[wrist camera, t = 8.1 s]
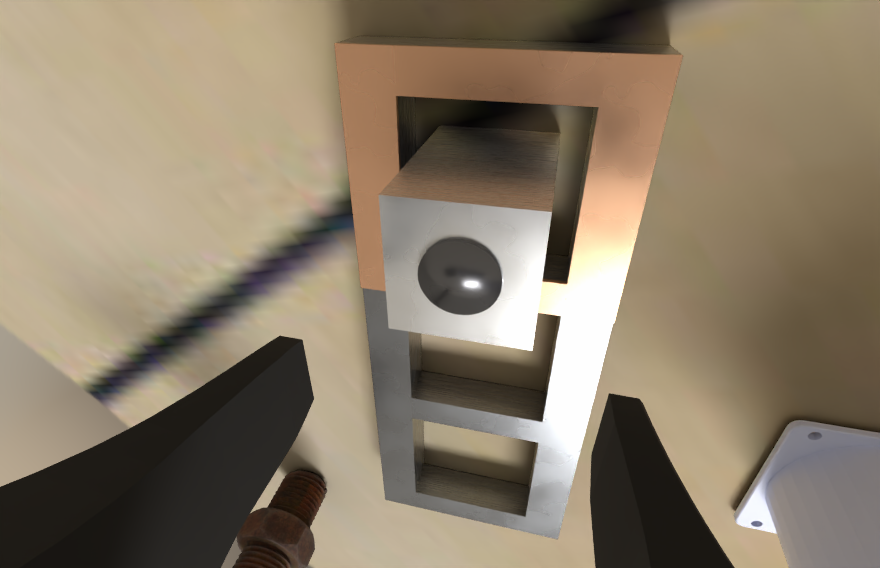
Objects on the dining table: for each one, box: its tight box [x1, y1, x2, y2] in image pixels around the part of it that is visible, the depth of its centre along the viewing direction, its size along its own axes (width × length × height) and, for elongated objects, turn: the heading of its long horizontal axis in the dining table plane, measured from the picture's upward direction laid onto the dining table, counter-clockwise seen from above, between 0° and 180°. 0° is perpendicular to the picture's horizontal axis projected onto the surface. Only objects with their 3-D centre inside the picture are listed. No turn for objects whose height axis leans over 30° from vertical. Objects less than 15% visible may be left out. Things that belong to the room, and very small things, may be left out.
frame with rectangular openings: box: [334, 36, 683, 539], centre depth 22 cm, size 10×26×2 cm, turn 0°
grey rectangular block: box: [379, 125, 561, 351], centre depth 16 cm, size 4×4×7 cm
